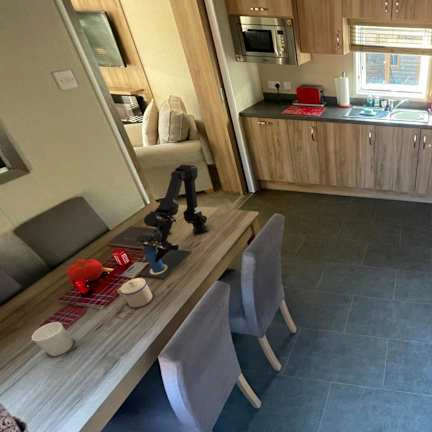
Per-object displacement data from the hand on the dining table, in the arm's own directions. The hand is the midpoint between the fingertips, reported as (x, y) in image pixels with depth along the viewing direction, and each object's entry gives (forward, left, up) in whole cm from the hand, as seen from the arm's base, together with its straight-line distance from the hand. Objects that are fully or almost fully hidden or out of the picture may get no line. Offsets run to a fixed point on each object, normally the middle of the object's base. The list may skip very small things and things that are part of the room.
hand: (151, 260), depth 146 cm
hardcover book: (-34, -4, -8) cm, 35 cm away
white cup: (+27, -32, -8) cm, 43 cm away
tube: (-1, +1, -7) cm, 7 cm away
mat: (-5, +4, -7) cm, 10 cm away
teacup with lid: (+15, -8, -8) cm, 19 cm away
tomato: (-12, -26, -8) cm, 29 cm away
